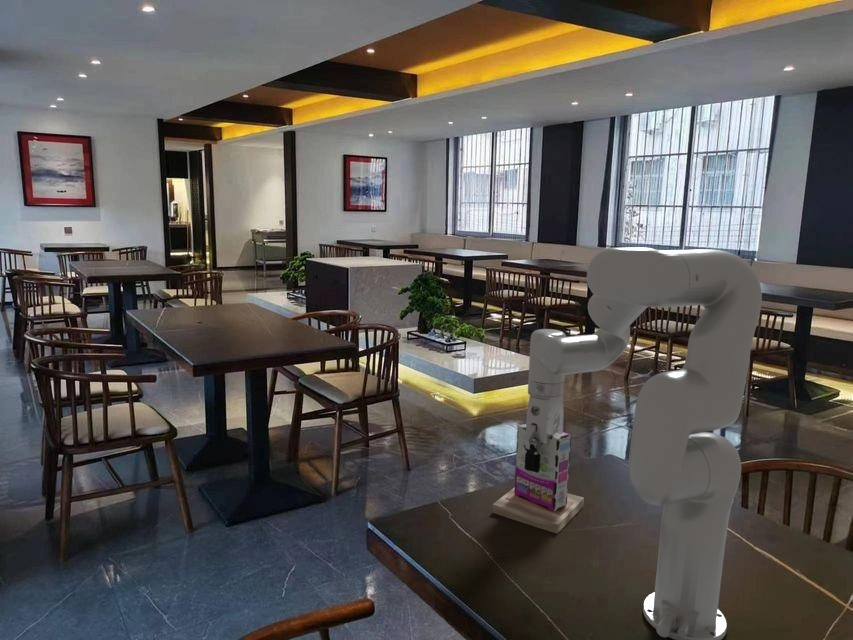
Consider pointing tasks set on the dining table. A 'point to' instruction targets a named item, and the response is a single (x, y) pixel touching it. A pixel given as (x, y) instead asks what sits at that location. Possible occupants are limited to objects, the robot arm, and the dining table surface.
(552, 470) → the candy bar box
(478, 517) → the dining table surface
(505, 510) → the base board
